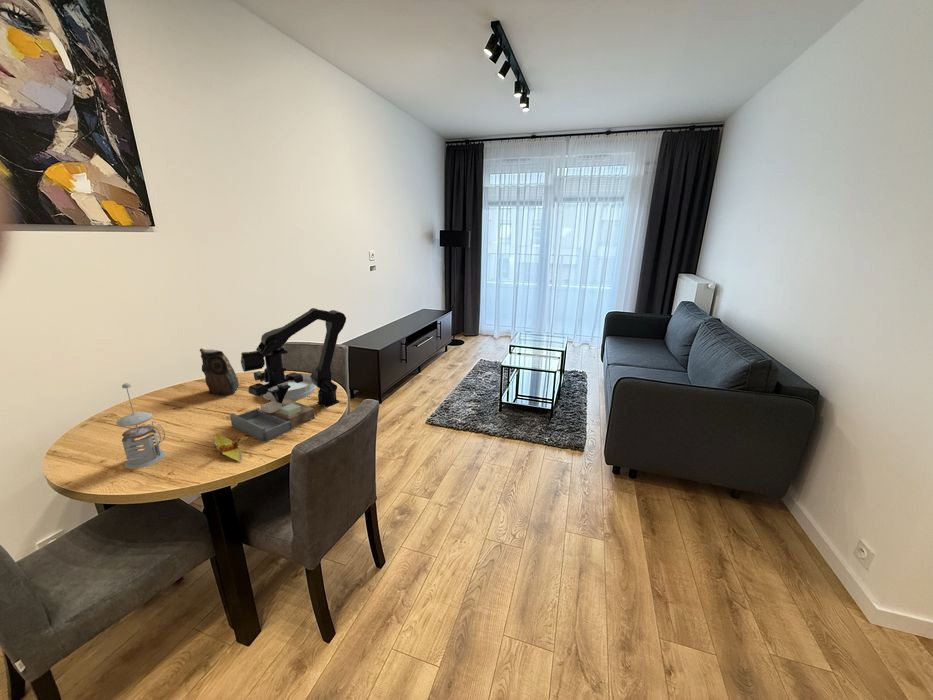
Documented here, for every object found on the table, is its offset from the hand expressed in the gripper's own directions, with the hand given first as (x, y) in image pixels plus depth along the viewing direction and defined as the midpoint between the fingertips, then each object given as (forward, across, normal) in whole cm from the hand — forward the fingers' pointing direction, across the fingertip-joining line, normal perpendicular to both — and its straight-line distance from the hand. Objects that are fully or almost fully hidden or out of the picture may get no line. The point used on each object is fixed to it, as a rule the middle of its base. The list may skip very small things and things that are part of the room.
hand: (279, 404), depth 139 cm
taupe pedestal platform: (+5, -1, +4) cm, 6 cm away
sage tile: (+1, +1, +8) cm, 8 cm away
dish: (+5, -16, -18) cm, 25 cm away
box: (+5, +10, +4) cm, 12 cm away
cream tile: (+1, +4, 0) cm, 4 cm away
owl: (+5, -1, -42) cm, 43 cm away
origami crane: (+5, +24, +10) cm, 27 cm away
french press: (+5, +40, -6) cm, 40 cm away
